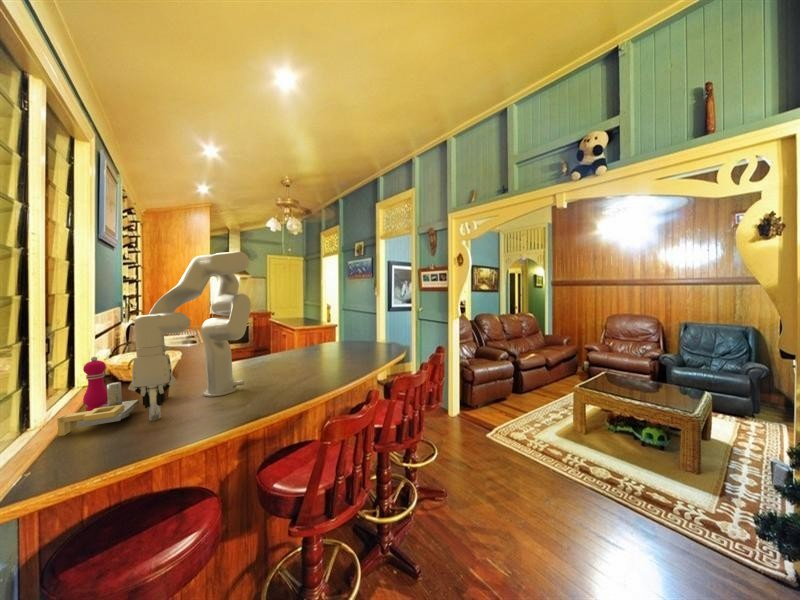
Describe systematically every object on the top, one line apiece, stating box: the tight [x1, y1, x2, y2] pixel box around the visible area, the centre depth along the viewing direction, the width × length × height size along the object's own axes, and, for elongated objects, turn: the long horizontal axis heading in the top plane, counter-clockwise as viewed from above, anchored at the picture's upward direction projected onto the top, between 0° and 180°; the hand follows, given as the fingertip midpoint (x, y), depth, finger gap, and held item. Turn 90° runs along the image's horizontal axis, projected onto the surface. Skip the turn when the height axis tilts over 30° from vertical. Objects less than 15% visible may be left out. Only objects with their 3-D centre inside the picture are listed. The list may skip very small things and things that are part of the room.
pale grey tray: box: [76, 381, 140, 428], centre depth 104 cm, size 10×17×12 cm, turn 24°
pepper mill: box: [82, 356, 108, 412], centre depth 116 cm, size 7×7×20 cm
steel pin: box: [146, 385, 162, 422], centre depth 106 cm, size 4×4×12 cm
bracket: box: [56, 404, 124, 437], centre depth 99 cm, size 14×7×6 cm, turn 114°
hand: (154, 405), depth 106 cm, fingers closed on steel pin, 3 cm apart
